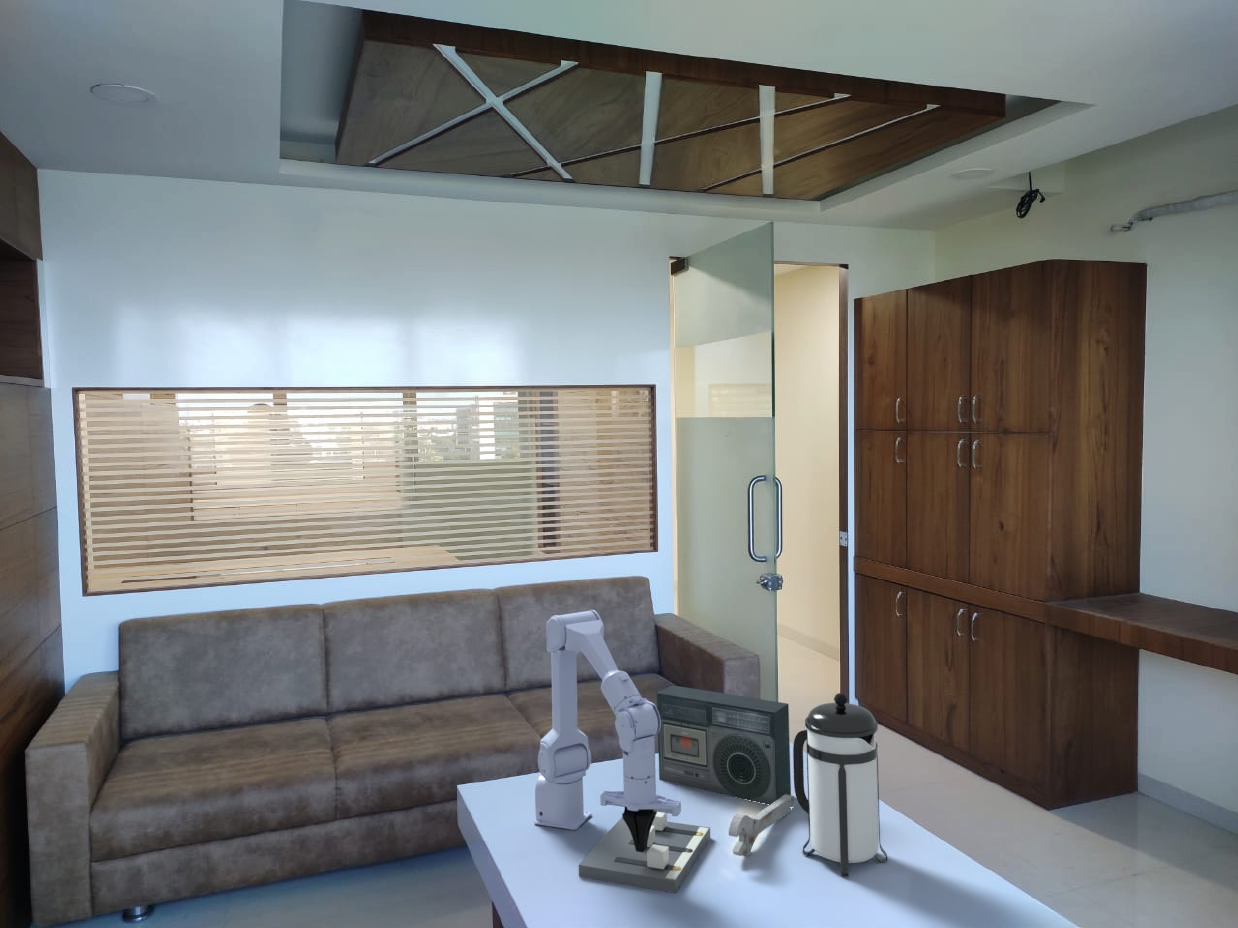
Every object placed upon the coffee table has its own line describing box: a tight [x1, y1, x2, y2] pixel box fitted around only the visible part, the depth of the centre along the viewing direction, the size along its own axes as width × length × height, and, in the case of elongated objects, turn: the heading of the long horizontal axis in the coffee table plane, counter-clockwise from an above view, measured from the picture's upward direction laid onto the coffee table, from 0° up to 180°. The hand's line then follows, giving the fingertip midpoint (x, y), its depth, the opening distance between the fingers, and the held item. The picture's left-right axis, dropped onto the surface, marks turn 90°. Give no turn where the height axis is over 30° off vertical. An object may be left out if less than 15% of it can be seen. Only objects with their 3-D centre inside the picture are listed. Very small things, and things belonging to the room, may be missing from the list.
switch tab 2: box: [647, 844, 669, 869], centre depth 150 cm, size 3×3×3 cm
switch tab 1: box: [652, 812, 668, 831], centre depth 164 cm, size 3×3×3 cm
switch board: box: [578, 816, 711, 894], centre depth 158 cm, size 18×22×2 cm
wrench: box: [728, 794, 796, 857], centre depth 165 cm, size 8×2×30 cm
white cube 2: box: [647, 826, 655, 847], centre depth 158 cm, size 3×3×3 cm
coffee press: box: [792, 692, 888, 877], centre depth 155 cm, size 17×16×30 cm
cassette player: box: [656, 685, 792, 805], centre depth 188 cm, size 29×7×20 cm, turn 55°
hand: (641, 849), depth 151 cm, fingers closed
